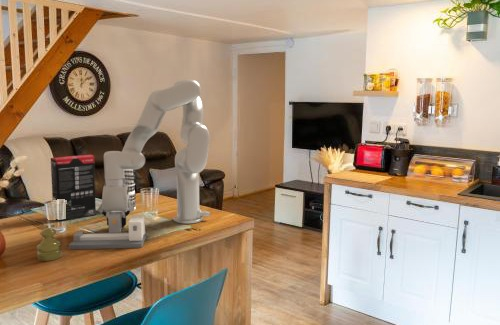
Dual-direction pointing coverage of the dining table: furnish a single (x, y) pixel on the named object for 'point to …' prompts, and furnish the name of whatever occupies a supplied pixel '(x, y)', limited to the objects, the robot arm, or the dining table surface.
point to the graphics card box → (74, 184)
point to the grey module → (115, 222)
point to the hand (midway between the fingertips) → (116, 226)
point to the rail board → (113, 237)
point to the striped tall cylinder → (130, 186)
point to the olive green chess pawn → (49, 246)
